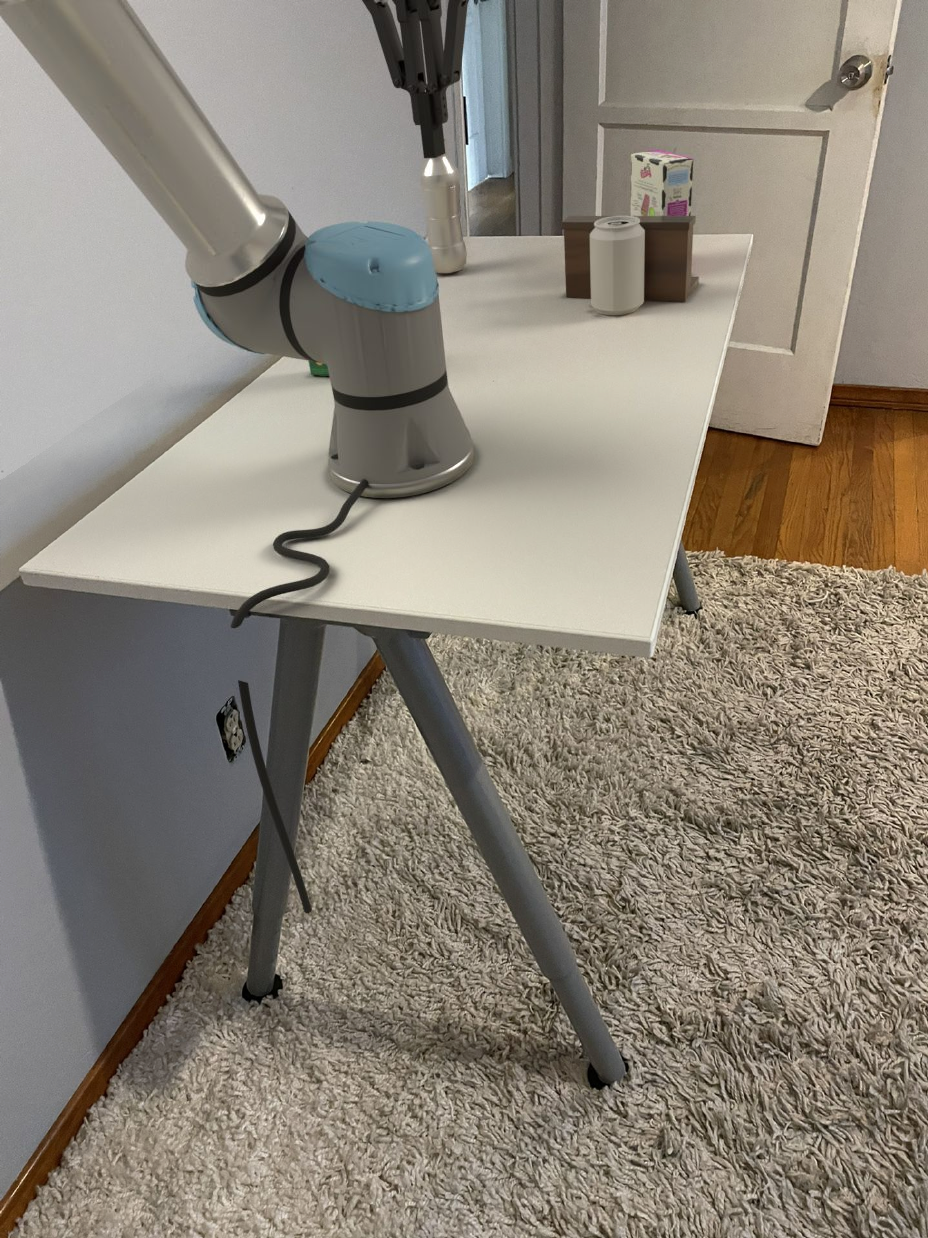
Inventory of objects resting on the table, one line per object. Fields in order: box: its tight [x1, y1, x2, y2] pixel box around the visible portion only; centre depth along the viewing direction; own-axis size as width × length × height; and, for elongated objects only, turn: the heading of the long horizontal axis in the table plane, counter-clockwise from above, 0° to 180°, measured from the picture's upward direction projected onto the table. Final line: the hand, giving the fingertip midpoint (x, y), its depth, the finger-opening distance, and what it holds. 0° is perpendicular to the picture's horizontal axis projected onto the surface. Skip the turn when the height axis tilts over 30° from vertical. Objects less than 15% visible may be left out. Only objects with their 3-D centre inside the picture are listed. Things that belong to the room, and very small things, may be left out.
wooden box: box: [561, 215, 700, 303], centre depth 134 cm, size 8×18×11 cm, turn 65°
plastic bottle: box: [418, 138, 468, 274], centre depth 149 cm, size 6×7×20 cm
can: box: [590, 215, 645, 316], centre depth 127 cm, size 8×8×12 cm
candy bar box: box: [629, 149, 694, 216], centre depth 139 cm, size 11×5×16 cm, turn 17°
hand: (434, 155), depth 107 cm, fingers closed
